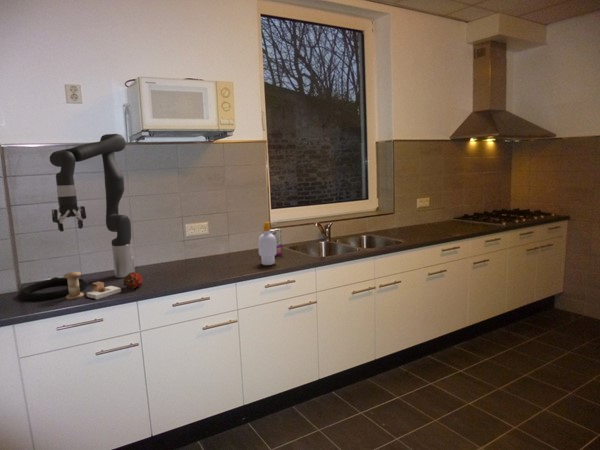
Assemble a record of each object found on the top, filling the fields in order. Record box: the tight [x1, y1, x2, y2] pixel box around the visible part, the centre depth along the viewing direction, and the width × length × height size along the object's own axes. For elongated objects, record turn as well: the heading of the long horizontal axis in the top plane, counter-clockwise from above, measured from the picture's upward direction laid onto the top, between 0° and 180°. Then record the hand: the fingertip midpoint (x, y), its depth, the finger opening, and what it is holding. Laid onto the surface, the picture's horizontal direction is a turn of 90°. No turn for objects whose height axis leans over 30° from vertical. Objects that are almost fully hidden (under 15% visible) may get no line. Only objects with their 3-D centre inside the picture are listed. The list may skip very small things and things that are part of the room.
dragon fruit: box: [123, 271, 144, 290], centre depth 196 cm, size 8×8×12 cm
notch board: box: [86, 285, 122, 300], centre depth 187 cm, size 12×8×2 cm, turn 147°
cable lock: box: [18, 276, 87, 302], centre depth 195 cm, size 28×4×30 cm
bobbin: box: [63, 271, 85, 301], centre depth 184 cm, size 7×7×11 cm
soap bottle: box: [257, 221, 277, 266], centre depth 231 cm, size 10×10×24 cm
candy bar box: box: [262, 228, 283, 257], centre depth 252 cm, size 11×5×16 cm, turn 132°
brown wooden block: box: [91, 281, 105, 293], centre depth 189 cm, size 3×4×5 cm
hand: (71, 229), depth 187 cm, fingers open, 8 cm apart
